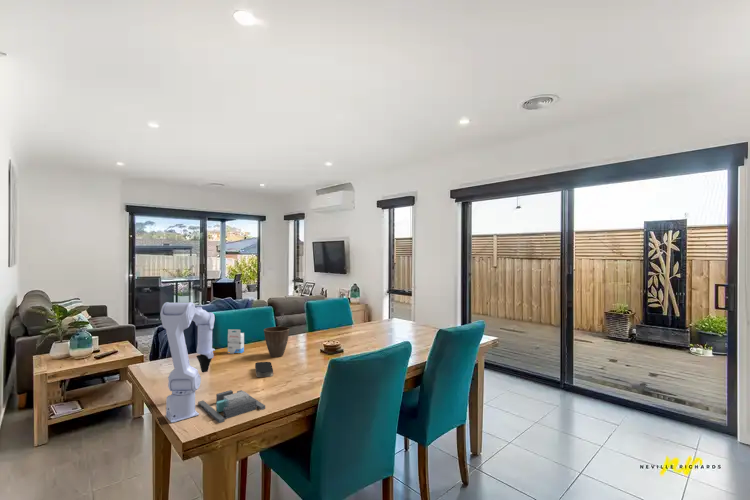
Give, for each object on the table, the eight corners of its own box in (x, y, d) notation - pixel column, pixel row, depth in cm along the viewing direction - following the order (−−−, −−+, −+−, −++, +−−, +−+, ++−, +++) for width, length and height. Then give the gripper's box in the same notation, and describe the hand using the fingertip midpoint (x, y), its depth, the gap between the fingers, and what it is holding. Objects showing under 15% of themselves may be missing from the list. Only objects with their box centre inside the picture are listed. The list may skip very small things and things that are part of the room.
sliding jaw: (218, 412, 139) (218, 403, 139) (208, 404, 146) (208, 395, 146) (248, 403, 147) (248, 394, 147) (237, 396, 154) (237, 388, 154)
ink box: (244, 351, 225) (244, 328, 225) (240, 353, 220) (240, 329, 220) (231, 351, 225) (231, 327, 226) (227, 353, 220) (227, 329, 221)
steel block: (228, 416, 137) (228, 400, 137) (223, 411, 140) (223, 396, 140) (249, 409, 142) (249, 394, 142) (243, 405, 146) (243, 390, 146)
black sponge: (254, 369, 192) (254, 362, 192) (271, 367, 195) (271, 360, 195) (256, 379, 177) (256, 371, 177) (274, 377, 180) (274, 370, 180)
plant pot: (258, 357, 212) (258, 330, 212) (272, 351, 226) (272, 325, 226) (280, 360, 207) (281, 332, 207) (293, 353, 221) (294, 327, 222)
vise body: (219, 423, 131) (219, 413, 131) (198, 404, 146) (198, 396, 146) (265, 408, 143) (265, 399, 143) (241, 392, 159) (241, 384, 159)
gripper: (220, 341, 153) (220, 373, 153) (208, 335, 163) (208, 365, 163) (203, 344, 148) (203, 377, 148) (191, 338, 158) (191, 369, 158)
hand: (204, 371), depth 155 cm, fingers closed
